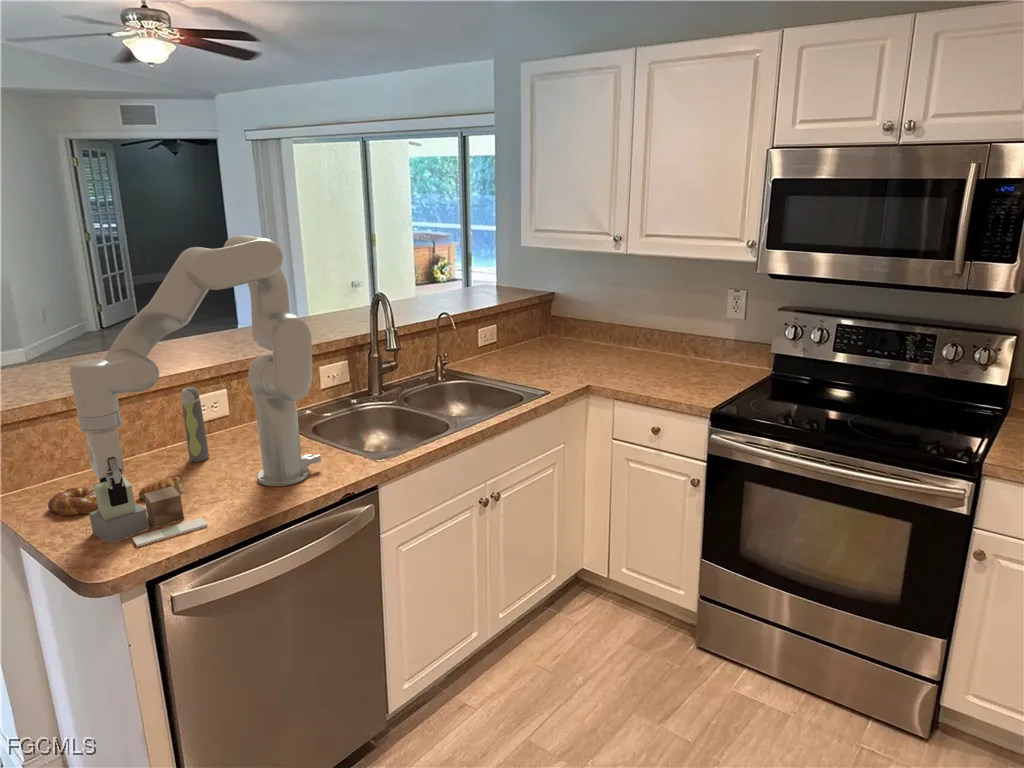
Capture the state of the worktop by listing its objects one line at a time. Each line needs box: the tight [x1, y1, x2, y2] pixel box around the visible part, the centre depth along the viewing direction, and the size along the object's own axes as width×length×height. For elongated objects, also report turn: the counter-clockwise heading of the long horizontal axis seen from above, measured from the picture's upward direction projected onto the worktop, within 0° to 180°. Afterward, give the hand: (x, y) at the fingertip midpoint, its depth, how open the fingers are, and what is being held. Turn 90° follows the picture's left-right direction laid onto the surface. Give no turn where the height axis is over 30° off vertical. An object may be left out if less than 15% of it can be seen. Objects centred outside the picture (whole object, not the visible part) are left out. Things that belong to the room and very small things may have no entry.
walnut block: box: [144, 486, 185, 528], centre depth 156 cm, size 6×6×6 cm
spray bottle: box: [180, 386, 210, 463], centre depth 187 cm, size 5×5×20 cm
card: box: [131, 517, 209, 547], centre depth 150 cm, size 14×4×1 cm, turn 129°
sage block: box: [93, 476, 136, 520], centre depth 150 cm, size 6×6×6 cm
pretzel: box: [47, 487, 98, 517], centre depth 163 cm, size 12×11×4 cm
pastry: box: [138, 476, 183, 501], centre depth 168 cm, size 9×7×4 cm
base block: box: [88, 503, 150, 544], centre depth 151 cm, size 8×8×5 cm
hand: (114, 496), depth 149 cm, fingers open, 9 cm apart
